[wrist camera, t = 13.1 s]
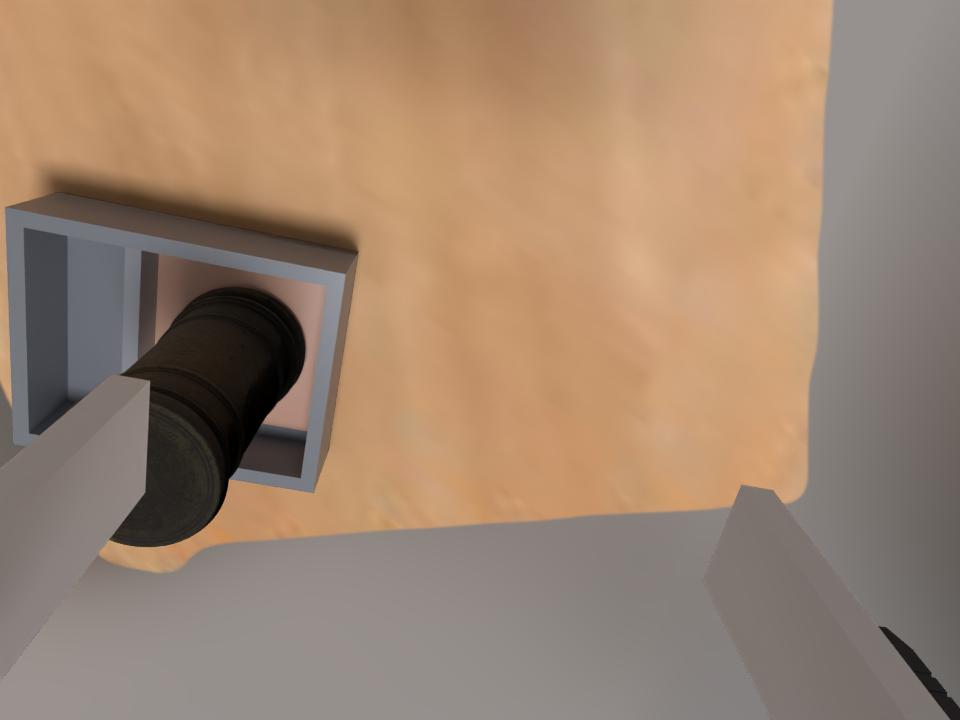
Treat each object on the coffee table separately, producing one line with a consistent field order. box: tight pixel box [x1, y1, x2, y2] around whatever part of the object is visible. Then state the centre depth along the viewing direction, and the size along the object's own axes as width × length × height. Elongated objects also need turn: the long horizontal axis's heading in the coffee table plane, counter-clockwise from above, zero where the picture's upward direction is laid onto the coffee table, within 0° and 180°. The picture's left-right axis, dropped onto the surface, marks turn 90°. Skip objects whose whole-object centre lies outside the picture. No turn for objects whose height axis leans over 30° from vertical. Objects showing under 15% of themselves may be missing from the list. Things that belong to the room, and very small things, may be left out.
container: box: [59, 287, 305, 547], centre depth 41 cm, size 9×9×18 cm
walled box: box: [5, 192, 359, 493], centre depth 47 cm, size 16×20×6 cm
